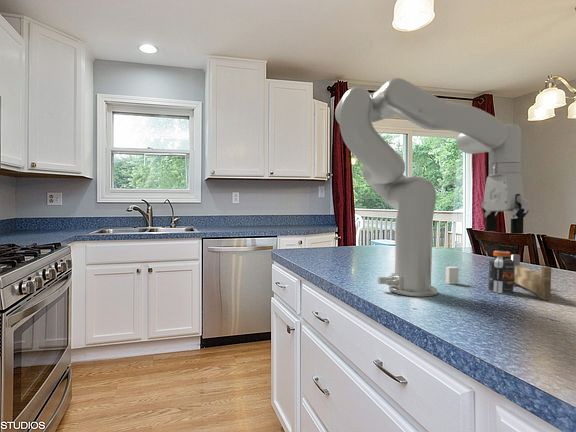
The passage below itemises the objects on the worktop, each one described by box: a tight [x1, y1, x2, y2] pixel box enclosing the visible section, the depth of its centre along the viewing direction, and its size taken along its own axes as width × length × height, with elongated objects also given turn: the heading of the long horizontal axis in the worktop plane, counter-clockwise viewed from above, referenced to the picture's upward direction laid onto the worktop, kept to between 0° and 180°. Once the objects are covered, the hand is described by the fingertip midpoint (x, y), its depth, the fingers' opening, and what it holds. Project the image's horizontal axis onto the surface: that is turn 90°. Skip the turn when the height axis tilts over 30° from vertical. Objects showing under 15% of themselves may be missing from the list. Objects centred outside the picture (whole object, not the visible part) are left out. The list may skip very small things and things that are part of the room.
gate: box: [515, 265, 552, 301], centre depth 97 cm, size 18×2×8 cm, turn 167°
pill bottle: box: [487, 250, 514, 295], centre depth 98 cm, size 6×6×11 cm
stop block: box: [444, 266, 460, 285], centre depth 108 cm, size 3×2×5 cm, turn 97°
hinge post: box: [510, 253, 522, 287], centre depth 107 cm, size 5×5×9 cm
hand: (503, 232), depth 98 cm, fingers open, 9 cm apart
